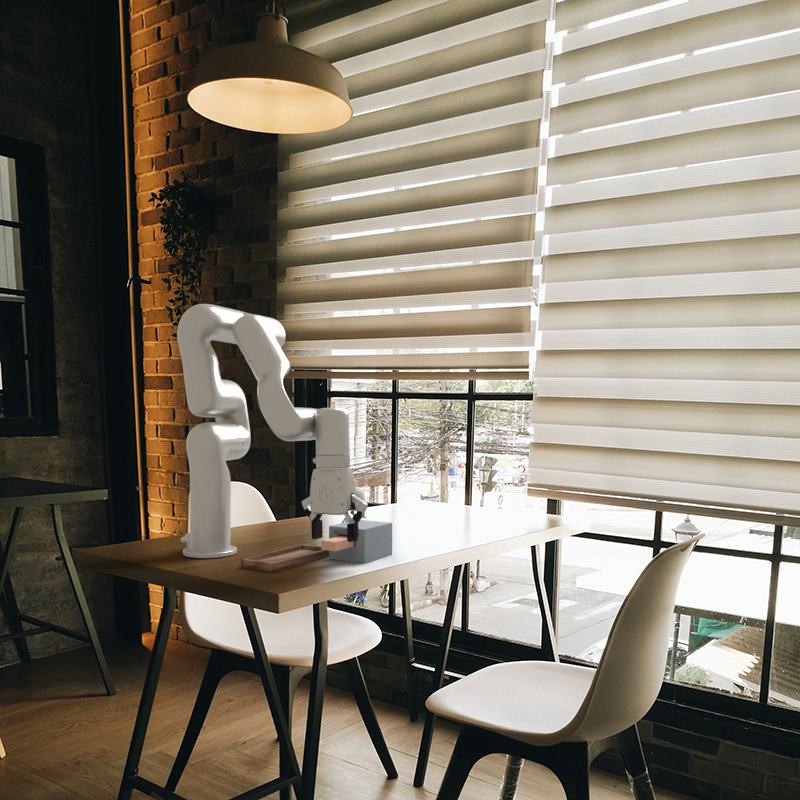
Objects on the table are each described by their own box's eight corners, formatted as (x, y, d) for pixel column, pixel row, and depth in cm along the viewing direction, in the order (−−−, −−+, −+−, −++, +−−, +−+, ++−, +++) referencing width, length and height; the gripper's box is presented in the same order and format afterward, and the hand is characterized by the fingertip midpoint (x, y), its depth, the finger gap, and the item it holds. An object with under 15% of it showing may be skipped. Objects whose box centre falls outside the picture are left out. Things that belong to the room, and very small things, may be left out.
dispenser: (327, 559, 168) (327, 526, 169) (357, 550, 179) (357, 519, 179) (363, 563, 163) (363, 529, 164) (392, 554, 174) (392, 522, 174)
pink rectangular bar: (321, 549, 161) (321, 540, 161) (360, 539, 175) (361, 530, 175) (335, 551, 159) (335, 542, 159) (375, 540, 173) (375, 532, 173)
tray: (240, 567, 159) (241, 559, 159) (302, 551, 178) (302, 544, 178) (274, 572, 154) (274, 563, 154) (334, 555, 173) (334, 547, 173)
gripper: (292, 463, 163) (293, 540, 162) (355, 464, 154) (357, 545, 154) (312, 461, 169) (314, 535, 169) (374, 462, 161) (376, 539, 160)
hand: (334, 539), depth 161 cm, fingers open, 9 cm apart
